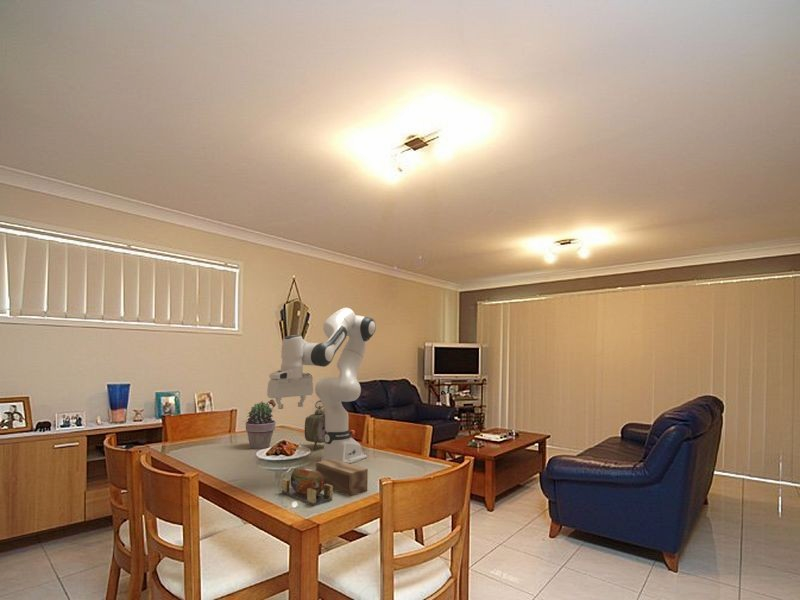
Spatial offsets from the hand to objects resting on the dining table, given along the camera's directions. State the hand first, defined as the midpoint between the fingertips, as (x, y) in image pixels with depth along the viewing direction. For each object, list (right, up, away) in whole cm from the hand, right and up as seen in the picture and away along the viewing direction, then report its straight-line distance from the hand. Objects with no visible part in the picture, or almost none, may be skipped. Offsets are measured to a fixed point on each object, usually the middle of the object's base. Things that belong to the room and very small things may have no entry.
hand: (290, 407), depth 185 cm
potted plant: (-31, -35, +57) cm, 74 cm away
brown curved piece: (+11, -26, -21) cm, 35 cm away
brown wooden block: (+22, -28, -10) cm, 37 cm away
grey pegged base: (+11, -27, -22) cm, 36 cm away
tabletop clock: (+1, -35, +56) cm, 66 cm away
